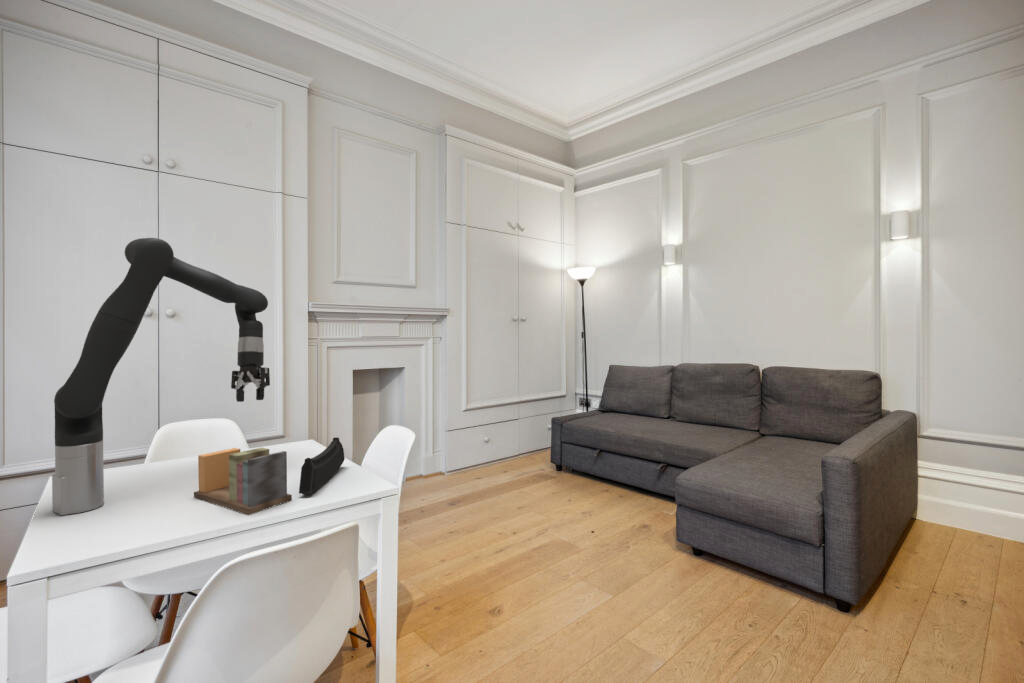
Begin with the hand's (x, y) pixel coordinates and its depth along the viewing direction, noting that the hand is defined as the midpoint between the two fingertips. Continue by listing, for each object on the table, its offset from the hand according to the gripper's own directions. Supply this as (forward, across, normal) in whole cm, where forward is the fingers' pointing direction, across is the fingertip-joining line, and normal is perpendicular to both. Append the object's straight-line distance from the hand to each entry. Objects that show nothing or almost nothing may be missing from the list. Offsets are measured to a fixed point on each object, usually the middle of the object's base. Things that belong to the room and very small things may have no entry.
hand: (250, 400), depth 151 cm
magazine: (+27, +25, +5) cm, 37 cm away
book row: (+28, +16, -15) cm, 35 cm away
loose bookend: (+25, +5, -14) cm, 29 cm away
